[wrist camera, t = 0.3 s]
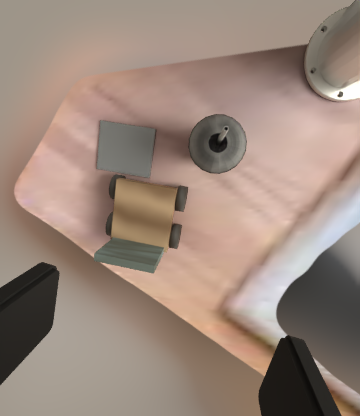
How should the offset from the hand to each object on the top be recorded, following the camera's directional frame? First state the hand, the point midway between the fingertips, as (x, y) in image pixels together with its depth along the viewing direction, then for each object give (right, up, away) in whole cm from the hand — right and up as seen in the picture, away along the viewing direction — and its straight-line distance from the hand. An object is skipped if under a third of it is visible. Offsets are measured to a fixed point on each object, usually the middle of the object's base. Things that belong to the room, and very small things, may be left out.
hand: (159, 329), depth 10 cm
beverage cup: (+7, +15, +32) cm, 36 cm away
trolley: (-5, +5, +36) cm, 36 cm away
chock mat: (-9, +16, +34) cm, 38 cm away
